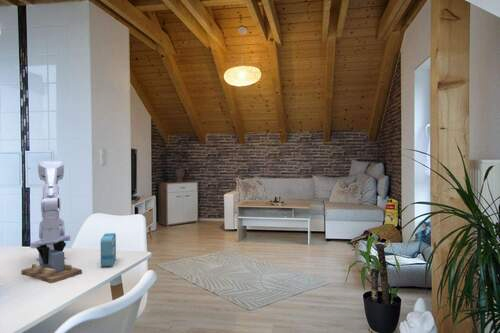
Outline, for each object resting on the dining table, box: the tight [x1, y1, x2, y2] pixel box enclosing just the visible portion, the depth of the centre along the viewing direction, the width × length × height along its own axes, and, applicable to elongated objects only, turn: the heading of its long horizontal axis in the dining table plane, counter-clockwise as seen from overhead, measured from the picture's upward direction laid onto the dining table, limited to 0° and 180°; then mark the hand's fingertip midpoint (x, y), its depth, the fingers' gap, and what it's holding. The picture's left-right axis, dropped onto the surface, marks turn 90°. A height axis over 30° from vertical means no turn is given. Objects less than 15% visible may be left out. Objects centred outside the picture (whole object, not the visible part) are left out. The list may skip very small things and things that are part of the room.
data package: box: [100, 232, 117, 268], centre depth 148 cm, size 12×4×12 cm, turn 15°
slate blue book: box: [38, 249, 66, 273], centre depth 135 cm, size 10×4×7 cm, turn 61°
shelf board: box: [20, 263, 83, 284], centre depth 135 cm, size 20×12×4 cm, turn 61°
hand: (51, 262), depth 135 cm, fingers closed on slate blue book, 4 cm apart
